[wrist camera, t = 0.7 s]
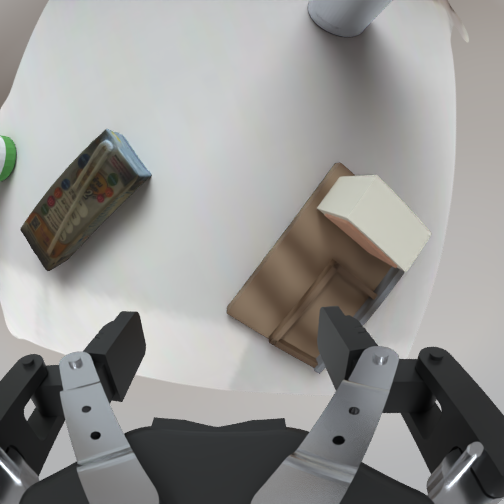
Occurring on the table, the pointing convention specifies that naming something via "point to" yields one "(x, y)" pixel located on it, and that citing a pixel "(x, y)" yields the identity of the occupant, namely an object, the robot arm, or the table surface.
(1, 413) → the robot arm
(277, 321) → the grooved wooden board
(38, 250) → the beverage carton
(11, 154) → the wine bottle
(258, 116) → the table surface
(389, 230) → the tea box
